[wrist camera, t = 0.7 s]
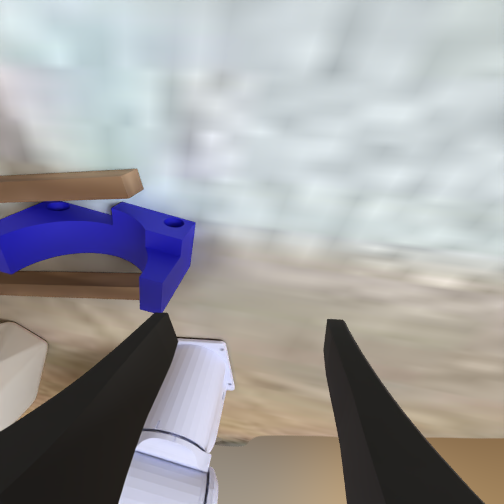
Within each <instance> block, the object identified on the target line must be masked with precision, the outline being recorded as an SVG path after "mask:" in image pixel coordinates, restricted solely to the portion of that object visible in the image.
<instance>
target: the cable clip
mask: <svg viewBox="0 0 504 504" xmlns="http://www.w3.org/2000/svg"><path fill="white" fill-rule="evenodd" d="M111 210H112V215H109V214H105V213H102V212H98V211H95V210H91V209H88V208H84V207H80V206H77V205H73V204H70V203H66V202H63V201H44V202H41V203H39V204H37V205H34V206H32V207H29V208H27V209H24V210H22V211H20V212H17V213H15V214H12V215H10V216H8V217H5V218H3V219H0V272H4V273H8V274H11V275H12V274H13V273H15V272H17V271H18V270H20V269H22V268H24V267H26V266H29V265H31V264H33V263H36V262H39V261H42V260H45V259H48V258H52V257H56V256H61V255H67V254H75V253H102V254H108V255H113V256H117V257H120V258H123V259H125V260H127V261H129V262H131V263H133V264H134V265H136V266H137V267H138V268H139V269H140V270H141V271H142V274H141V275H140V276H139V292H140V309H141V310H145V311H148V312H152V313H155V312H158V313H162V312H163V311H164V309H165V307H166V306H167V304H168V302H169V301H170V299H171V297H172V296H173V294H174V292H175V290H176V289H177V287H178V285H179V284H180V282H181V280H182V279H183V277H184V275H185V274H186V272H187V270H188V269H189V267H190V262H191V254H192V246H193V238H194V230H195V222H192V221H189V220H185V219H181V218H178V217H174V216H171V215H167V214H164V213H160V212H157V211H153V210H150V209H146V208H142V207H139V206H135V205H132V204H128V203H125V202H121V203H119V204H117V205H116V206H114V207H112V208H111Z"/></svg>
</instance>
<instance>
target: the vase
mask: <svg viewBox="0 0 504 504" xmlns="http://www.w3.org/2000/svg"><path fill="white" fill-rule="evenodd" d="M47 351H48V343H47V342H46V341H45V340H43V339H42V338H40V337H38V336H37V335H35V334H33V333H32V332H30V331H28V330H27V329H25V328H23V327H22V326H20V325H18V324H16V323H14V322H4V323H0V431H2V430H3V429H5V428H7V427H8V426H10V425H11V424H13V423H15V422H16V421H17V420H18V419H19V418H20V417H21V415H22V414H23V413H24V412H25V411H26V410H27V409H28V408H29V407H30V406H31V405H32V403H33V402H34V401H35V399H36V397H37V393H38V389H39V385H40V381H41V377H42V373H43V369H44V365H45V361H46V356H47Z"/></svg>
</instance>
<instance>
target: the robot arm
mask: <svg viewBox="0 0 504 504" xmlns="http://www.w3.org/2000/svg"><path fill="white" fill-rule="evenodd" d="M324 360H325V370H326V377H327V382H328V387H329V392H330V397H331V402H332V407H333V412H334V417H335V422H336V427H337V431H338V437H339V443H340V448H341V457H342V464H343V473H344V481H345V490H346V499H347V504H485V503H483V501H482V500H481V499H480V498H479V497H478V496H477V495H476V494H475V493H474V492H473V491H472V490H471V489H470V488H469V487H468V486H467V484H466V483H465V482H464V481H463V480H462V479H461V478H460V477H459V476H458V474H457V473H456V472H455V471H454V470H453V469H452V468H451V467H450V466H449V465H448V463H447V462H446V461H445V460H444V459H443V458H442V457H441V456H440V455H439V453H438V452H437V451H436V450H435V449H434V448H433V447H432V446H431V444H430V443H429V442H428V441H427V440H426V438H425V437H424V436H423V435H422V434H421V432H420V431H419V430H418V429H417V428H416V426H415V425H414V424H413V423H412V422H411V420H410V419H409V418H408V417H407V415H406V414H405V413H404V412H403V410H402V409H401V408H400V406H399V405H398V404H397V402H396V401H395V400H394V398H393V397H392V396H391V394H390V393H389V392H388V390H387V389H386V388H385V386H384V385H383V383H382V382H381V380H380V379H379V378H378V376H377V375H376V373H375V372H374V370H373V369H372V367H371V366H370V364H369V363H368V361H367V360H366V358H365V356H364V355H363V353H362V352H361V350H360V348H359V347H358V345H357V343H356V342H355V340H354V338H353V336H352V335H351V333H350V331H349V329H348V327H347V325H346V323H345V322H344V321H343V320H336V319H327V326H326V334H325V342H324ZM234 387H235V385H234V381H233V376H232V371H231V366H230V362H229V357H228V352H227V347H226V343H225V342H223V341H215V340H198V339H182V338H177V337H176V334H175V331H174V329H173V326H172V323H171V321H170V318H169V315H168V313H158V312H155V313H154V314H153V315H152V316H151V317H150V318H149V319H147V320H146V321H145V322H144V323H143V324H142V325H141V326H140V327H139V328H138V329H136V330H135V331H134V332H133V333H132V334H131V335H130V336H129V337H128V338H126V339H125V340H124V341H123V342H122V343H121V344H120V345H119V346H118V347H116V348H115V349H114V350H113V351H112V352H111V353H109V354H108V355H107V356H106V357H105V358H103V359H102V360H101V361H100V362H99V363H97V364H96V365H95V366H94V367H93V368H91V369H90V370H89V371H88V372H86V373H85V374H84V375H83V376H81V377H80V378H79V379H77V380H76V381H75V382H73V383H72V384H71V385H69V386H68V387H67V388H65V389H64V390H63V391H61V392H60V393H58V394H57V395H56V396H54V397H53V398H51V399H50V400H48V401H47V402H45V403H44V404H42V405H41V406H39V407H38V408H36V409H35V410H33V411H32V412H30V413H29V414H27V415H26V416H24V417H23V418H21V419H20V420H18V421H16V422H15V423H13V424H11V425H10V426H8V427H7V428H5V429H3V430H2V431H0V504H217V501H218V481H217V478H216V474H215V471H214V469H213V468H212V467H209V464H210V459H211V454H209V453H210V451H211V450H212V448H213V446H214V444H215V441H216V437H217V432H218V427H219V423H220V418H221V413H222V409H223V404H224V399H225V395H226V390H234Z"/></svg>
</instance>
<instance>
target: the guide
mask: <svg viewBox="0 0 504 504" xmlns="http://www.w3.org/2000/svg"><path fill="white" fill-rule="evenodd" d="M142 190H143V186H142V183H141V179H140V176H139V173H138V170H137V169H124V170H105V171H86V172H67V173H49V174H30V175H11V176H0V203H7V202H37V201H67V200H97V199H127V198H130V197H132V196H134V195H135V194H137V193H138V192H140V191H142ZM141 274H142V273H93V272H36V271H17V272H15V273H13V274H12V275H11V274H8V273H4V272H0V295H15V296H43V297H71V298H99V299H127V300H140V292H139V276H140V275H141Z"/></svg>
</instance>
